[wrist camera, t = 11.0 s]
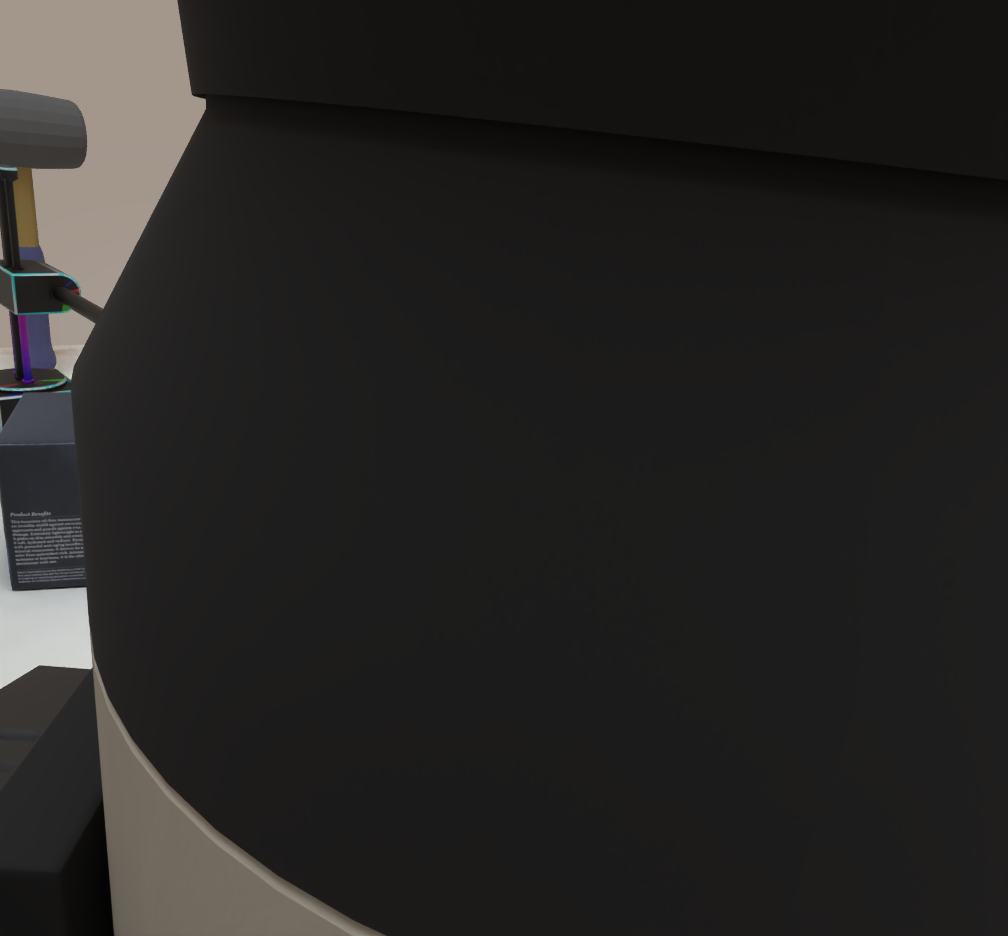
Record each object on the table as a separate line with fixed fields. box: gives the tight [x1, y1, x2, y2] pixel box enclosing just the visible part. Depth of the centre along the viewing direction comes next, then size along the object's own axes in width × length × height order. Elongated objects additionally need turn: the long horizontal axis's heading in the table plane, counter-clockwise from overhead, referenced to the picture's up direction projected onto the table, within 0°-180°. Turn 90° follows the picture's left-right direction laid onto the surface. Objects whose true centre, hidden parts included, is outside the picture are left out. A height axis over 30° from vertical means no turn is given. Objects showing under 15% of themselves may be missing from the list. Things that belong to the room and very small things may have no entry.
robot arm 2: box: [0, 164, 103, 432], centre depth 66 cm, size 25×9×24 cm, turn 44°
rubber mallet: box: [0, 89, 87, 369], centre depth 88 cm, size 12×8×30 cm, turn 133°
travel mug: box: [70, 0, 1008, 936], centre depth 8 cm, size 8×8×18 cm
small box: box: [0, 392, 86, 590], centre depth 57 cm, size 11×6×10 cm, turn 19°
